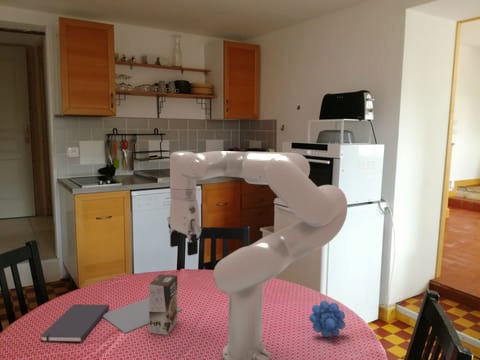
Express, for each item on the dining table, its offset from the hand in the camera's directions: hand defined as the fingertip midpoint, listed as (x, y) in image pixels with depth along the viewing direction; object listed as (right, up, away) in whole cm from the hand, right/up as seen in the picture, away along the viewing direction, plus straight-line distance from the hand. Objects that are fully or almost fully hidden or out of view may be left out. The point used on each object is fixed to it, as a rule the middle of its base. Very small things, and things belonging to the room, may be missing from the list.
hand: (183, 250), depth 118 cm
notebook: (-36, -26, +10) cm, 45 cm away
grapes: (+44, -28, +4) cm, 52 cm away
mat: (-17, -25, +18) cm, 35 cm away
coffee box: (-8, -27, +9) cm, 29 cm away
